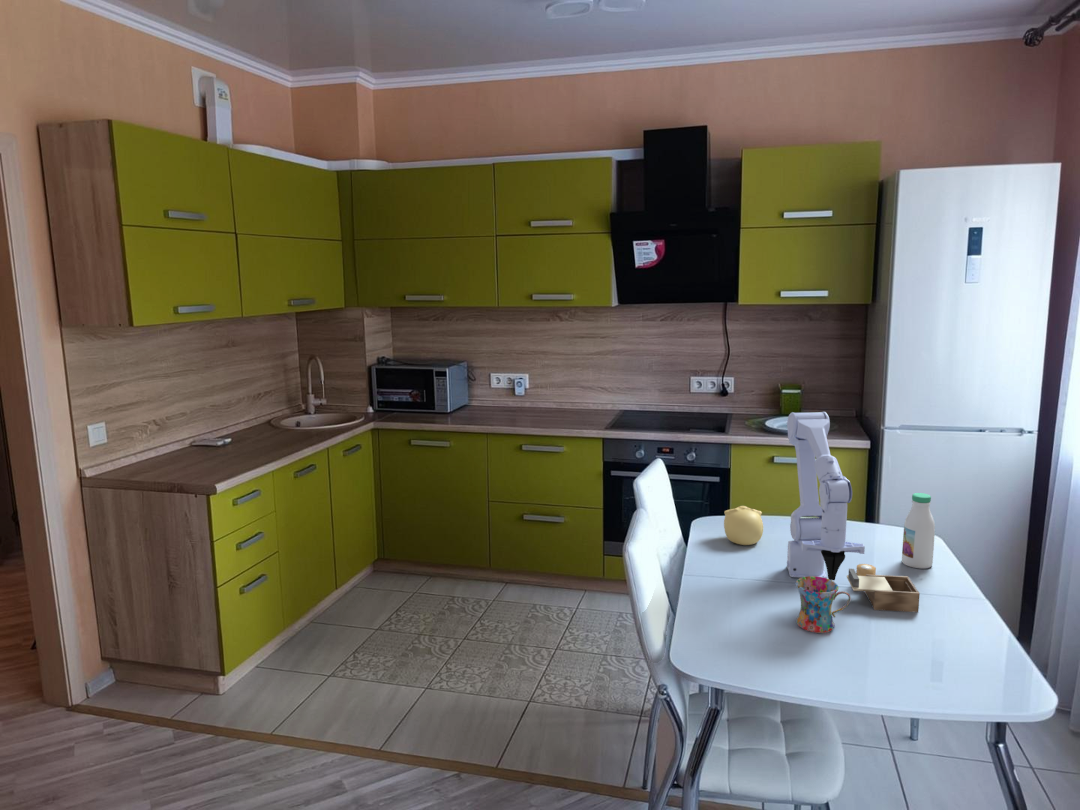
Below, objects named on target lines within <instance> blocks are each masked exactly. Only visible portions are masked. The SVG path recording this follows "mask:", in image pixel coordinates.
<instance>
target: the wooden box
mask: <svg viewBox="0 0 1080 810" xmlns="http://www.w3.org/2000/svg"><path fill="white" fill-rule="evenodd" d="M866 576H873V577H885V579H886V580H887V582H888V584H889V585H890V587H891V589H892V590H893V591H885V590H875V592H869V591H864V594H865V596H866V597H867V599H868V601H869V602H870V604H871V607H872V606H873V607H872V609H873V608H874V609H873V610H874V611H888V612H903V613H904V612H906V613H908V612H909V613H919V609H920V608H919V606H920V594H921V593H920V592H919V590H918V589H917V587H916V585H915V584H914V583H913V582H912V580H911V578H910V577H909V576H907V575H906V576H905V575H887V574H885V575H884V574H876V575H868V574H866Z"/></svg>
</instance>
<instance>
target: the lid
mask: <svg viewBox="0 0 1080 810" xmlns="http://www.w3.org/2000/svg"><path fill="white" fill-rule="evenodd" d="M846 579H847V581H848V582H849V584H850V587H851V589H852V591H854V592H865V591H869V592H875V590H885V591H893V590H892V589H891V587H890V585H889V584H888V582H887V580H886V579H885V577H873V576H857V574H856V569H854V568H848V574H847V575H846Z"/></svg>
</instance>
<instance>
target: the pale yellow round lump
mask: <svg viewBox="0 0 1080 810" xmlns="http://www.w3.org/2000/svg"><path fill="white" fill-rule="evenodd" d="M723 512H724V515H725V516H724V519H723V529H724V533H725V536H726V538H727V539H728V541H730V542H731V543H734V544H737V545H741V546H742V545H743V546H751V545H754V544H757V543H758V542H760V540H761V539H762V537H763V535H764V534H763V533H764V523H763V519H762V514H763V512H762V511H761V510H757V509H756V508H755V509H754V508H750V507H748V506H746V505H740V506H739V505H738V507H736V508H730V509H727V510H724V511H723Z"/></svg>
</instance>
